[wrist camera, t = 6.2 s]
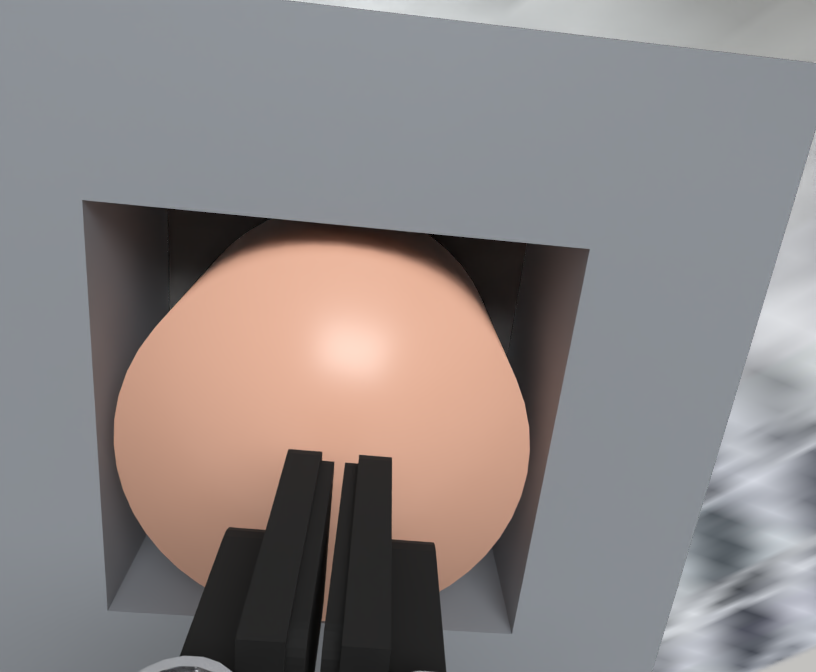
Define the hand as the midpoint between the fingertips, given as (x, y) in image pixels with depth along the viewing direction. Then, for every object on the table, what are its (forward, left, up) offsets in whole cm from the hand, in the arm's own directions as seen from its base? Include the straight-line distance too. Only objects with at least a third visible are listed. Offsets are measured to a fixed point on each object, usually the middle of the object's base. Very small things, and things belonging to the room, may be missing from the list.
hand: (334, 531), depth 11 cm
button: (0, 0, -7) cm, 7 cm away
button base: (0, 0, -8) cm, 8 cm away
